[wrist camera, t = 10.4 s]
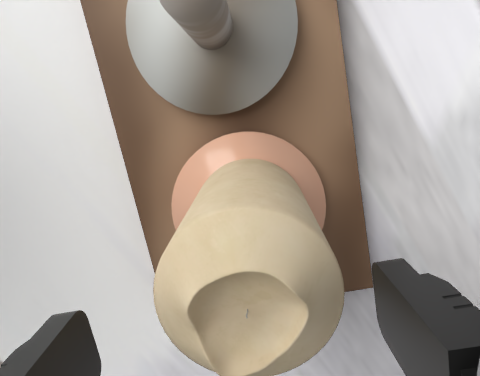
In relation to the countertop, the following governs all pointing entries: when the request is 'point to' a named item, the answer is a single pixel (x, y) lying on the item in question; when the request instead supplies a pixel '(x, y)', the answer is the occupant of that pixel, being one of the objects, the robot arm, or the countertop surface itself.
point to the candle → (249, 275)
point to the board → (230, 100)
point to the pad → (247, 148)
